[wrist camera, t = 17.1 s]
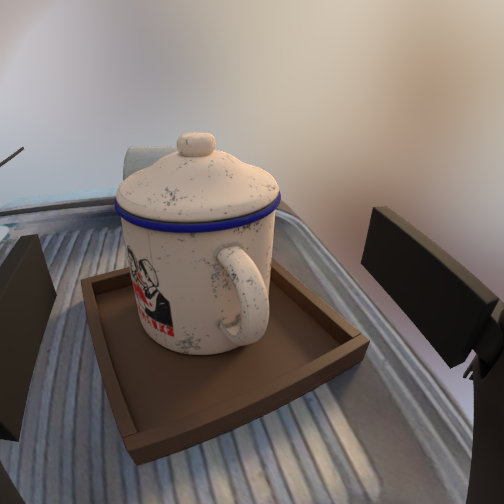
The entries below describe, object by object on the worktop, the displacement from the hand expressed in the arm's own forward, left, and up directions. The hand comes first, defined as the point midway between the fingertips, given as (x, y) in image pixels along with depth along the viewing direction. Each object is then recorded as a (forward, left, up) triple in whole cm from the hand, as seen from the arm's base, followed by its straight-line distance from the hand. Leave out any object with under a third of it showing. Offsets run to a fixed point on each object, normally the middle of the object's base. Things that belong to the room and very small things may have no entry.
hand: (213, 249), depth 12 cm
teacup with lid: (-5, +2, -9) cm, 10 cm away
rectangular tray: (-5, +2, -9) cm, 11 cm away
